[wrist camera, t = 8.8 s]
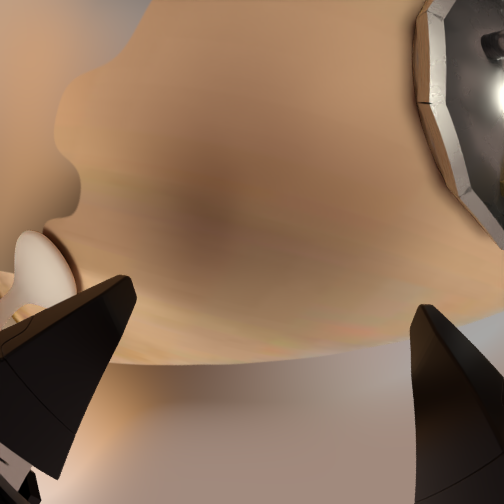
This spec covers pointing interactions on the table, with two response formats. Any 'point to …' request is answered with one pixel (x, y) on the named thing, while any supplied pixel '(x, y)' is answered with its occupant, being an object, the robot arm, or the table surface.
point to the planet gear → (502, 188)
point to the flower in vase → (37, 276)
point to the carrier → (464, 101)
